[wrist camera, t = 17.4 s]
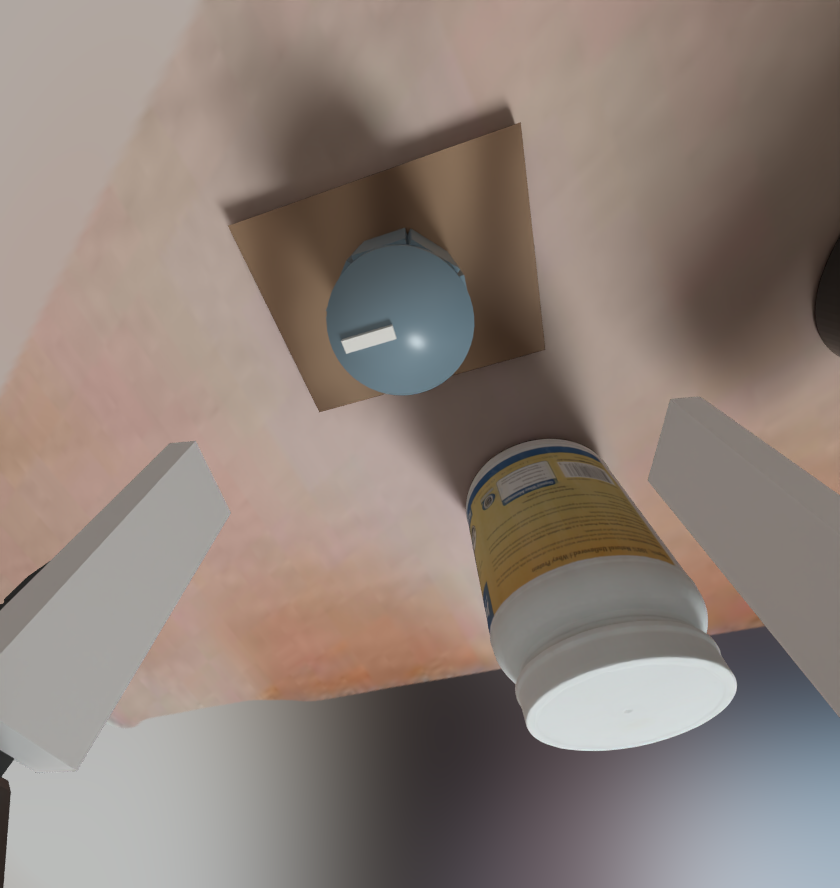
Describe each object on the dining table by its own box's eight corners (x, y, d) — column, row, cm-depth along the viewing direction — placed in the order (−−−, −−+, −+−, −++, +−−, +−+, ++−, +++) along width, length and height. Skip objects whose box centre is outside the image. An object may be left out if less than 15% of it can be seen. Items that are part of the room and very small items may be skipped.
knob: (441, 215, 21) (456, 224, 15) (467, 331, 24) (487, 377, 18) (329, 252, 22) (298, 276, 16) (369, 359, 25) (357, 412, 19)
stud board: (515, 125, 20) (549, 104, 15) (540, 344, 26) (569, 377, 22) (234, 224, 22) (188, 232, 17) (322, 405, 28) (305, 447, 24)
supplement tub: (434, 496, 33) (455, 721, 19) (547, 402, 29) (686, 607, 14) (523, 558, 38) (592, 774, 24) (632, 486, 33) (800, 702, 19)
